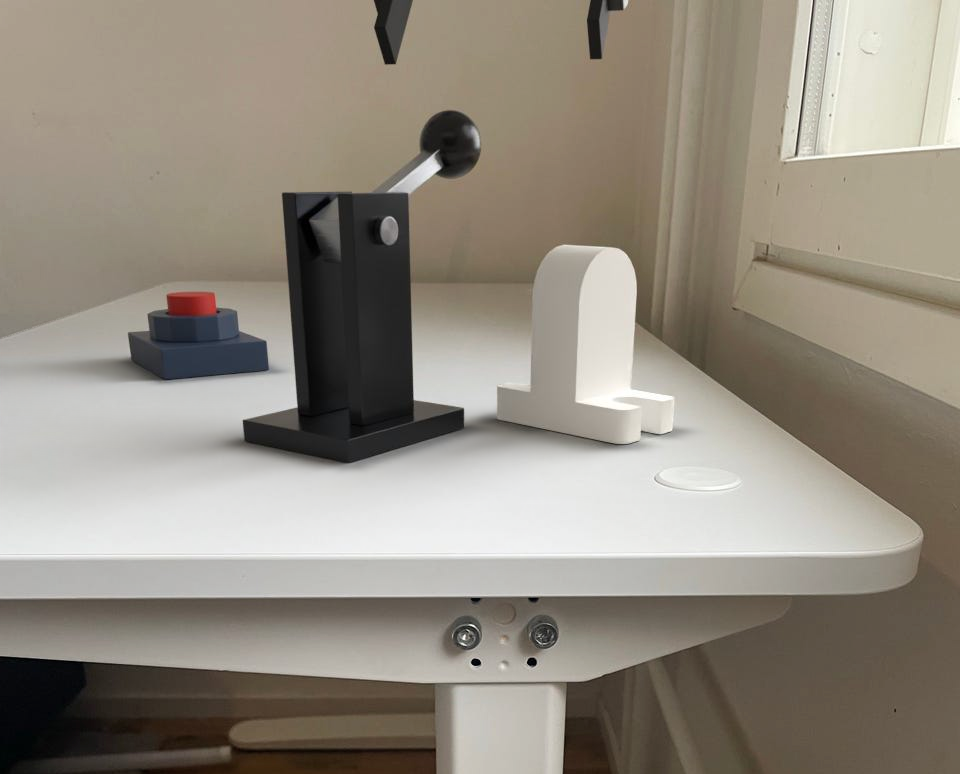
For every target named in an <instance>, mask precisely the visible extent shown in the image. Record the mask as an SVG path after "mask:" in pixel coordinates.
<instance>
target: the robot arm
mask: <svg viewBox="0 0 960 774" xmlns="http://www.w3.org/2000/svg"><path fill="white" fill-rule="evenodd" d="M413 2H414V0H373V3H374V7H375V10H376V13H377V15H376V18H375V21H374V25H373V29H374V32H375V36H376V39H377V42H378V46H379V50H380V53H381V56H382V59H383V63H384V65H386V66H389V65H390V66H391V65H397V62H398V57H399V54H400V50H401V48H402V47H401V45H402V42H403V39H404V35H405V31H406V28H407V25H408V20H409V16H410V13H411V10H412V5H413ZM628 3H629V0H590V1H589V6H588V12H587V17H586V28H587V39H588V40H587V41H588V50H589V60H603V57H604V56H603V55H604V49H605V44H606V40H607V39H606V38H607V34H608V29H609V28H608V27H609V22H610V16H611V12H617V11H621V12H622V11H625V9H626V8H627V6H628Z"/></svg>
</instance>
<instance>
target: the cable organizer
mask: <svg viewBox="0 0 960 774" xmlns="http://www.w3.org/2000/svg"><path fill="white" fill-rule="evenodd" d="M637 282H638V281H637V276H636V270H635V268H634V265H633V263H632V260H631V259H630V257H629V255H627V253H626V252H625V251H623V250H622V249H620V248H618V247H613V246H612V247H611V246H597V245H596V246H594V245H593V246H592V245H579V244H578V245H577V244H561V245H558V246H555V247H554V248H552V249H551V250H550V251H549V252H548V253H547V254H545V256H544V258H543V259H542V260H541V262H540V264H539V267H538V268H537V270H536V274H535V278H534V281H533V286H532V287H533V288H532V297H531V299H532V301H531V302H532V303H531V340H530V342H531V346H530V353H531V354H530V384H526V383H519V382H513V381H509V382H504V383H498V384H497V386H496V390H497V391H496V419H497V420H500V421H504V422H508V423H514V424H518V425H523V426H529V427H532V428H537V429H542V430H547V431H552V432H557V433H562V434H566V435H570V436H571V435H572V436H576V437H582V438H586V439H590V440H596V441H601V442H606V443H611V444H615V445H628V444H631V443H632V444H633V443H635V442H638V441H639V442H640V441H641V436H642V435H641V433H642V432H646V433H650V434H651V433H652V434H656V435H664V434H667V433H670V432H672V431H673V424H674V411H675V399H676V398H675V396H672V395H667V394H660V393H656V392H655V393H654V392H649V391H642V390H636V389H632V374H633V361H634V360H633V359H634V343H635V328H636V326H635V325H636V314H637V313H636V311H637V294H638V293H637V292H638V291H637V289H638V288H637V285H638V283H637Z"/></svg>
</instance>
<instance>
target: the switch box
mask: <svg viewBox="0 0 960 774" xmlns="http://www.w3.org/2000/svg"><path fill="white" fill-rule="evenodd" d="M216 310H217V313H216V314H209V315H195V316H177V315H169V314H168V308H165V309H164V308H163V309H157V310H153V311H150V312H148V313H147V314H146V315H147V323H148V329H149V330H141V331H140V330H139V331H138V330H137V331H128V332H127V337H128V344H129V352H130V353H129V354H130V360H131V361H133V362H134V363H136V364H138V365H139V366H141V367H143V368H144V369H146V370H148V371H150V372H151V373H153V374H155V375H156V376H158V377H159V378H161V379H163V380H165V381H166V380H177V379H188V378H198V377H209V376H210V377H211V376H220V375H230V374H242V373H253V372H254V373H255V372H263V371H269V370H270V366H269V354H268V342H267V340H265V339H263V338H260V337H257V336H254V335H251V334H249V333H246V332H243V331H241V330H240V328H239V318H238V311H237V310H235V309H232V308H227V307H216Z"/></svg>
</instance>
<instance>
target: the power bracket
mask: <svg viewBox="0 0 960 774" xmlns="http://www.w3.org/2000/svg"><path fill="white" fill-rule="evenodd" d="M337 197H338V212H339V231H340V250H341V263H330V262H324V260H323V257H322V254H321V252H320V249H319V246H318V244H317V241H316V238H315V236H314V233H313V231H312V228H311V225H310V223H309V219H310V218H312V217H313V216H314V215H316V214H317V213H318V212H319V211H321V210H322V209H323V208H324V207H326V206H327V205H328V204H330V203H331V202H332V201H333V200H335V199H336V198H337ZM281 201H282V203H281V204H282V215H283V229H284V230H283V231H284V243H285V256H286V271H287V284H288V296H289V297H288V299H289V311H290V323H291V325H290V326H291V337H292V338H291V340H292V353H293V365H294V366H293V367H294V379H295V392H296V393H295V394H296V404H297V407H292V408H289V409H285V410H279V411H276V412H272V413H266V414H262V415H259V416H254V417H249V418H246V419H242V429H243V440H244V442H248V443H252V444H258V445H261V446H267V447H272V448H277V449H281V450H287V451H291V452H296V453H299V454H305V455H311V456H315V457H320V458H324V459H329V460H330V459H331V460H334V461H338V462H339V461H340V462H344V463H352V462H356V461H359V460H362V459H366V458H369V457H372V456H376V455H378V454H382V453H385V452H388V451H392V450H396V449H398V448H401V447H402V448H403V447H405V446H408V445H412V444H415V443H418V442H421V441H426V440H428V439H431V438H435V437H438V436H442V435H445V434H448V433H451V432H455V431H458V430H461V429H464V428H465V408H464V407H460V406H455V405H448V404H441V403H434V402H429V401H422V400H416V399H415V398H414V397H415V396H414V395H415V394H414V363H413V362H414V360H413V359H414V356H413V355H414V354H413V324H412V323H413V322H412V321H413V319H412V284H411V283H412V280H411V278H412V277H411V246H410V245H411V242H410V237H411V236H410V203H409V196H408V192H378V193H371V192H352V191H341V190H339V191H289V192H288V191H287V192H286V191H285V192H281Z"/></svg>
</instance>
